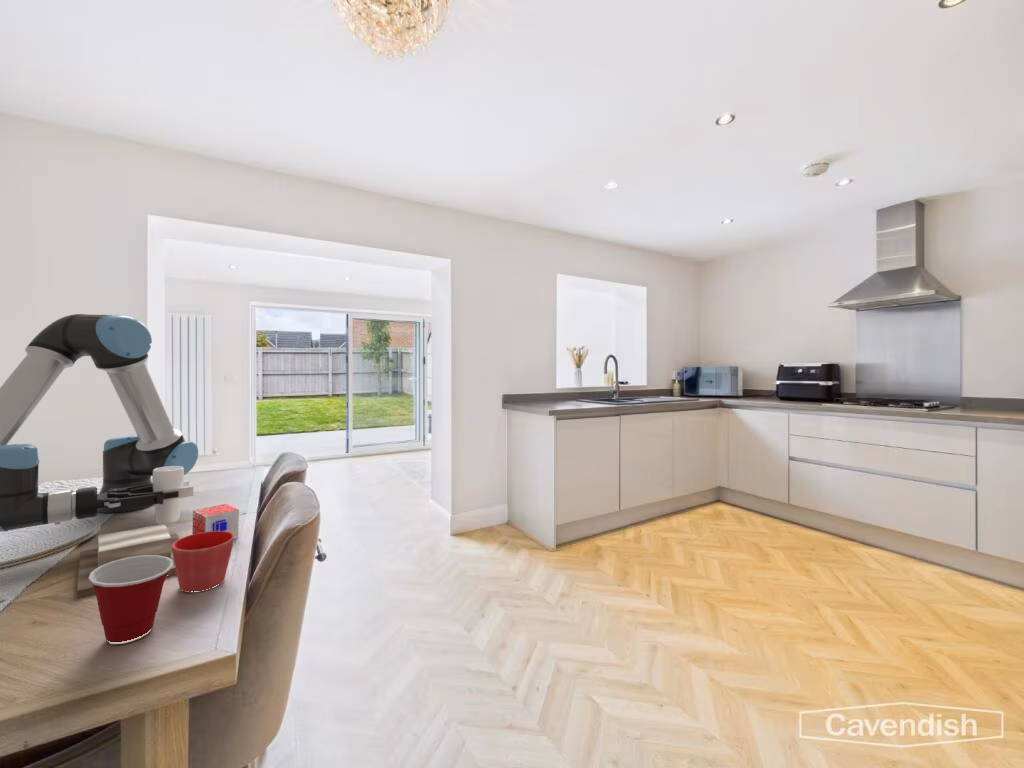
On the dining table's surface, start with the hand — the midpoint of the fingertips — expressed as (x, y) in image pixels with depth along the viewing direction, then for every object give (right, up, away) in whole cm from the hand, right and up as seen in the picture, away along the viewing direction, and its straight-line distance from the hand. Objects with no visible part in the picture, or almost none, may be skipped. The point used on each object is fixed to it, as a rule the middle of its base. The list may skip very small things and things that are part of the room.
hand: (190, 488), depth 119 cm
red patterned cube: (+11, -13, -6) cm, 18 cm away
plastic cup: (+27, -14, -47) cm, 56 cm away
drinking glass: (-4, -9, -3) cm, 10 cm away
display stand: (+4, -12, -22) cm, 26 cm away
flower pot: (+26, -13, -30) cm, 42 cm away
